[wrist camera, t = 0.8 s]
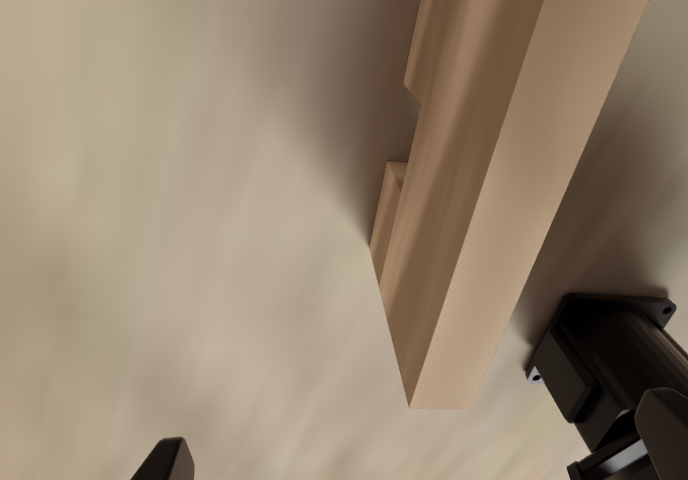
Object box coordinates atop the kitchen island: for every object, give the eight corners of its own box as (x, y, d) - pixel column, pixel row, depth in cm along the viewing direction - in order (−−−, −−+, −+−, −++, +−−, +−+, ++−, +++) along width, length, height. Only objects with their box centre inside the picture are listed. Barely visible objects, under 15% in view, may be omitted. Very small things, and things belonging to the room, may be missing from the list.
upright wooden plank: (486, -40, 16) (658, -24, 8) (410, 250, 22) (470, 409, 15) (430, -50, 16) (557, -43, 8) (369, 247, 22) (409, 408, 14)
